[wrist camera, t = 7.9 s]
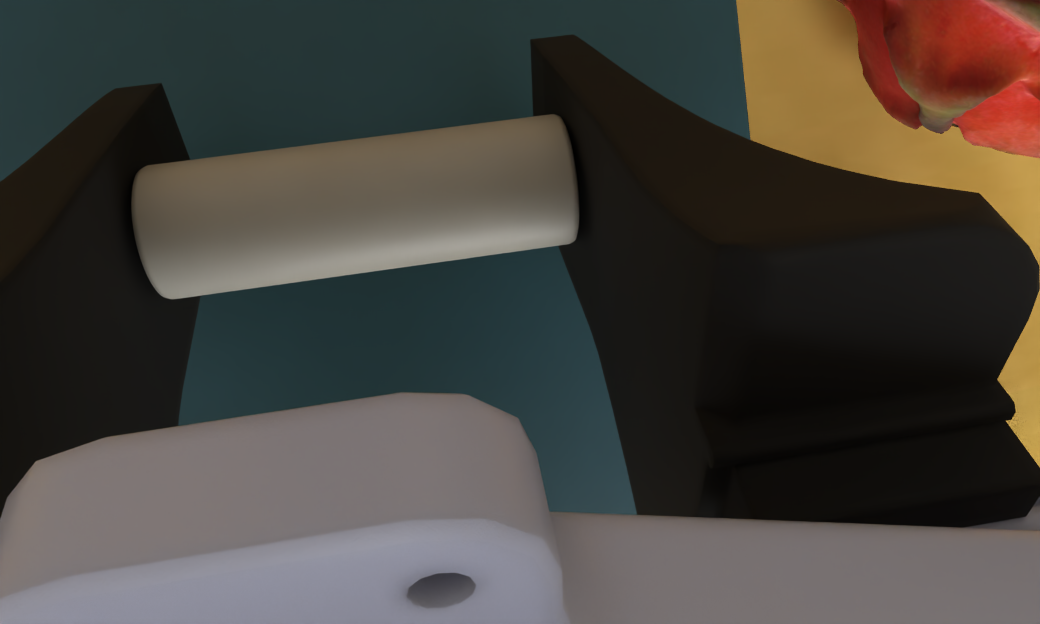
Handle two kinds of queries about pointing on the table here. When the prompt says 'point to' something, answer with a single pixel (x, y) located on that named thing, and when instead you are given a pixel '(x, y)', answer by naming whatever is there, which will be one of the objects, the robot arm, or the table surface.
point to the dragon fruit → (956, 66)
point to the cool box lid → (371, 193)
